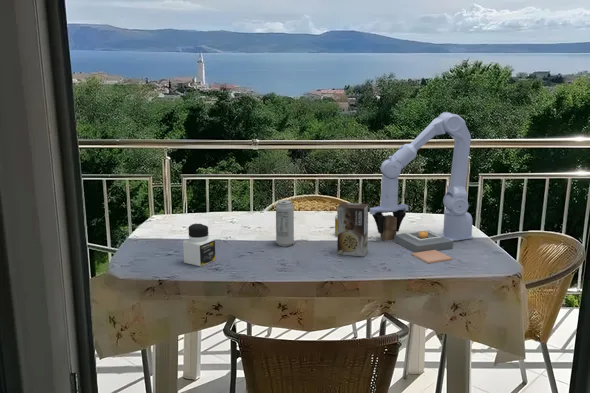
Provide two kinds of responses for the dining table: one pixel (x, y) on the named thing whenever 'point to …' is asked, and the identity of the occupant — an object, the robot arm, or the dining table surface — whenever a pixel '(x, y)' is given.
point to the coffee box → (352, 229)
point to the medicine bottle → (199, 246)
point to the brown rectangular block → (389, 228)
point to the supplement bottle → (336, 225)
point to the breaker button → (423, 234)
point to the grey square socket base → (423, 241)
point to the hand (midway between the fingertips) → (388, 232)
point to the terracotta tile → (431, 256)
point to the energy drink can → (284, 223)
